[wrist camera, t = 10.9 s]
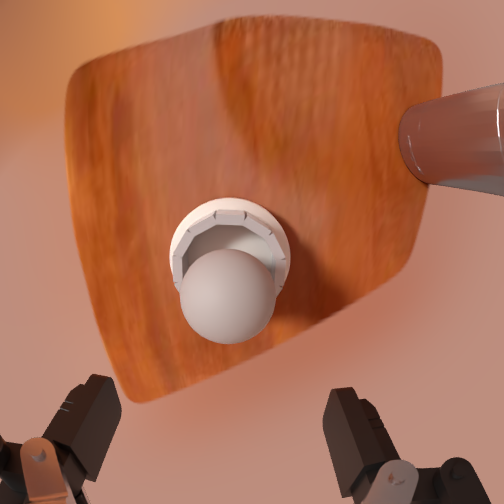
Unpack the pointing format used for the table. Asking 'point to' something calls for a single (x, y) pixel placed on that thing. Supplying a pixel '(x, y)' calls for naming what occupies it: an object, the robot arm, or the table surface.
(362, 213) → the table surface
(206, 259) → the lightbulb
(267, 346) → the table surface
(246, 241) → the lamp base
